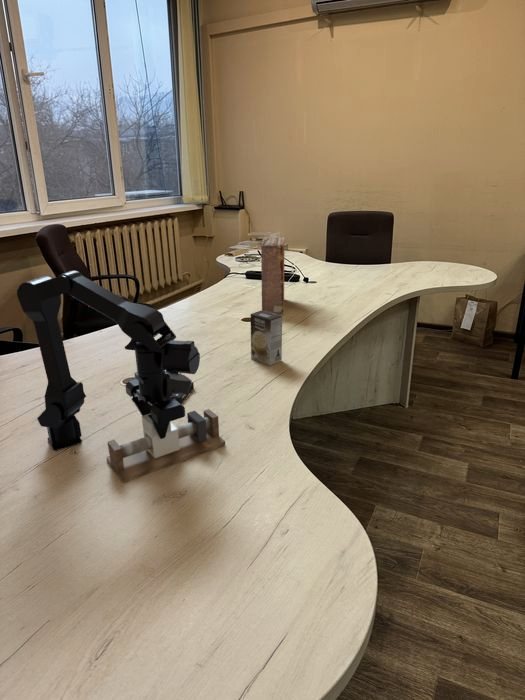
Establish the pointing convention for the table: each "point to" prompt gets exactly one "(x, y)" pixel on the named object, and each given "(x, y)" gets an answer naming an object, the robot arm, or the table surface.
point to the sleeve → (161, 445)
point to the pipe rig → (139, 461)
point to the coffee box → (266, 337)
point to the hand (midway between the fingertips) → (157, 432)
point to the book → (272, 274)
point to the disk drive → (178, 395)
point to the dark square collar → (198, 425)
